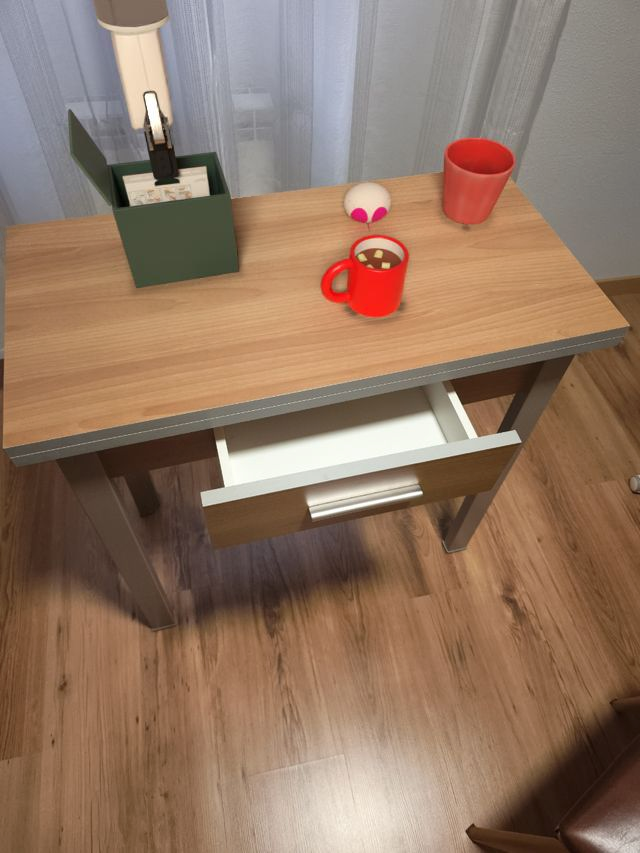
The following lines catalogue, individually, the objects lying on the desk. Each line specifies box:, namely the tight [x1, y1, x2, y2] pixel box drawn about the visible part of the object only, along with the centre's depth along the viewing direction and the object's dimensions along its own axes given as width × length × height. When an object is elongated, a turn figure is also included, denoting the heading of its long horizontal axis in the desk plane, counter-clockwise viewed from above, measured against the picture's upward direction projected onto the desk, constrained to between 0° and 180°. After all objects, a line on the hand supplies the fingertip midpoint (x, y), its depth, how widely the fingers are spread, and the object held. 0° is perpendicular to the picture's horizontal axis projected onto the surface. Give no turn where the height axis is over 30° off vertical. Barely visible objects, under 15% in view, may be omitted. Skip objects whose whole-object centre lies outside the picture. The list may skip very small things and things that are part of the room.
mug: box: [320, 234, 410, 318], centre depth 78 cm, size 8×12×8 cm, turn 110°
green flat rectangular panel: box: [67, 108, 112, 207], centre depth 71 cm, size 7×11×1 cm
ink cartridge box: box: [123, 166, 210, 206], centre depth 78 cm, size 2×11×10 cm, turn 106°
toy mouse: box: [343, 181, 392, 232], centre depth 91 cm, size 8×8×7 cm
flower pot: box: [442, 136, 516, 226], centre depth 91 cm, size 11×11×10 cm
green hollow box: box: [107, 151, 240, 289], centre depth 81 cm, size 15×11×12 cm
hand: (164, 167), depth 74 cm, fingers open, 3 cm apart
